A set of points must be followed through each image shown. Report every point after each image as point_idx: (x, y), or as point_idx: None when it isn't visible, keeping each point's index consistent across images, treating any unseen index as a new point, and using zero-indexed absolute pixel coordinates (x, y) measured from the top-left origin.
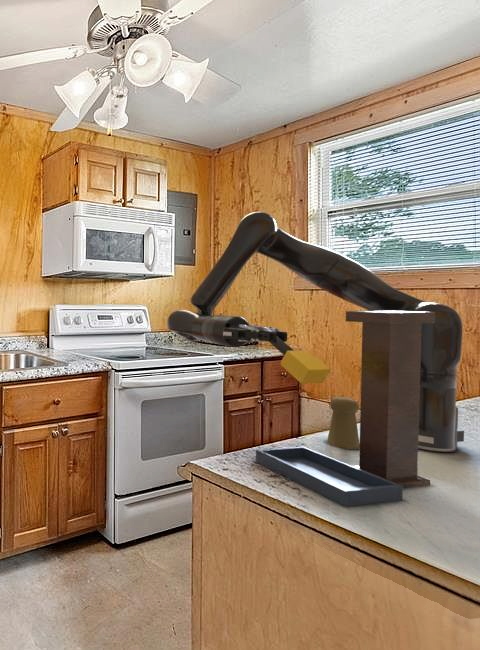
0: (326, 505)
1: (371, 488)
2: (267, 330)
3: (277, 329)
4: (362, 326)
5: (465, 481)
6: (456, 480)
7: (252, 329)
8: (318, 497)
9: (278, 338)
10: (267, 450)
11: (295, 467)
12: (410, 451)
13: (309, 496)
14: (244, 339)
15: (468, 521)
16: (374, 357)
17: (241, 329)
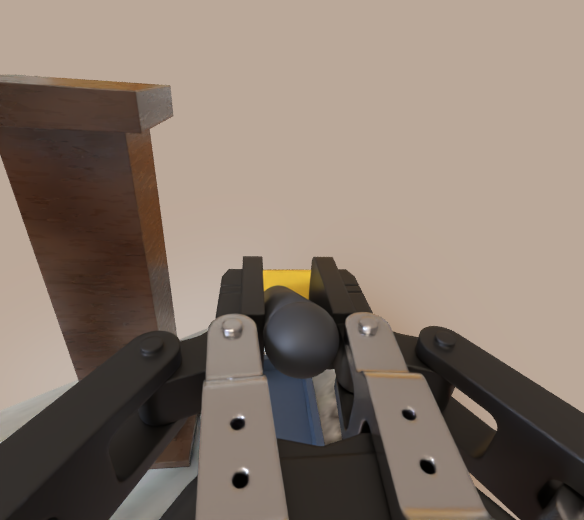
0: (327, 372)
1: (264, 355)
2: (309, 301)
3: (166, 332)
4: (126, 143)
5: (24, 405)
6: (32, 410)
7: (398, 354)
8: (321, 389)
9: (288, 291)
10: None
11: (318, 425)
12: None
13: (332, 393)
14: (451, 403)
15: (201, 332)
16: (151, 218)
17: (503, 363)
